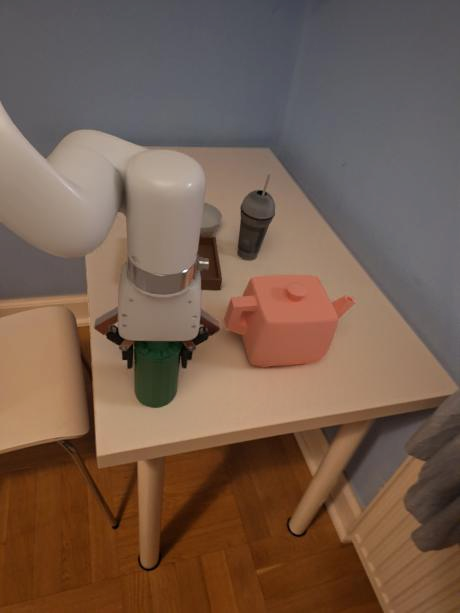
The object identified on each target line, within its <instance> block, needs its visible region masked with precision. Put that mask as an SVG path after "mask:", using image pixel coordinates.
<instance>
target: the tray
mask: <svg viewBox="0 0 460 613" xmlns="http://www.w3.org/2000/svg"><path fill="white" fill-rule="evenodd" d="M197 254H199V257H202V258H209V269H208V270H202V271H200V276H201V291H221V288H222V283H223V277H222V271H221V264H220V257H219V250H218V244H217V238H216V236H213V235H210V236H200V237H199V245H198V253H197Z"/></svg>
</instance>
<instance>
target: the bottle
mask: <svg viewBox="0 0 460 613" xmlns="http://www.w3.org/2000/svg"><path fill="white" fill-rule="evenodd" d="M133 348H134V353H133V372H134V373H133V376H134V377H133V380H134V383H133V384H134V395H135V397H136V400H137V401H138V402H139V403H140V404H142V405H143V406H145V407H148V408H153V409H158V408H163V407H165V406H167V405H169V404H170V403H171V402H172V401H173V400H174V399H175V397H176V394H177V391H178V384H179V375H180V367H181V350H182V341H134V342H133Z"/></svg>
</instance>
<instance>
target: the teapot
mask: <svg viewBox="0 0 460 613" xmlns="http://www.w3.org/2000/svg"><path fill="white" fill-rule="evenodd" d="M355 304H356V301H355V299H354V298H353V296H351V295H350V296H349V295H343V296H342V297H339V298H338V299H336V300H333V301H331V299H330V296H329V295H328V293H327V291H326V289H325V288H324V285H323V283H322V282H321V280H320V278H319V277H318V276H316V275H310V274H309V275H308V274H270V275H269V274H268V275H258V276H252V277H251V278H250V279H249V281H248V283H247V285H246V287H245V288H244V291H243V294H242V296H231V297H230V300H229V302H228V305H227V308H226V312H225V315H224V318H223V322H224V326H225V330H226V331H230V332H231V333H235V334H238V335H240V336H241V338H242V344H243V345H244V346H243V347H244V349H245V352H246V356H247V358H248V361H249V363H250V364H251V365H253V366H258V367H259V368H262V369H264V368H265V369H266V368H268V367H270V366H271V367H272V366H273V367H274V366H292V365H299V366H303V365H306V364H308V363H313V362H318V361H320V360H322V359H323V358H324V357H326V355H327V353H328V351H329V349H330V347H331V345H332V342H333V340H334V337H335V334H336V330H337V328H338V327H337V326H338V322H339V320H340V319H341V318H342V317H343V316H344V315H345V314H346V313H347V312H348V311H349V310H350V309H351V308H352V307H353V306H354V305H355Z"/></svg>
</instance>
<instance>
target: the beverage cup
mask: <svg viewBox="0 0 460 613" xmlns="http://www.w3.org/2000/svg"><path fill="white" fill-rule="evenodd" d="M270 179H271V174H267V177H266V180H265V184H264V186H263V189H255V190H253V191H250V192H248V194H247V195H246V196H244V198H243V200H242V202H241V204H240V207H239V210H240V223H239V231H238V239H237V241H238V242H237V252H236V253H237V256H238V257H239V258H240V259H242V260H244V261H254V260H256V259H257V257H258V255H259V253H260V250H261V249H262V245H263V243H264V240H265V237H266V235H267V233H268V230H269V227H270V225H271V223H272V221H273V219H274V217H275V215H276V202H275V200H274V198H273V196H272V195H271V194H270V192H268V191H267V188H268V185H269V183H270V182H269V181H270Z"/></svg>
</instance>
